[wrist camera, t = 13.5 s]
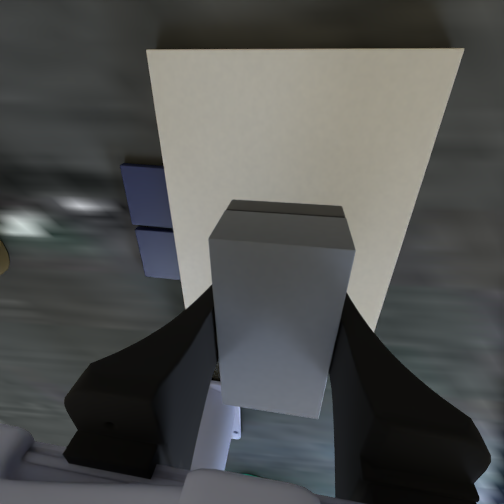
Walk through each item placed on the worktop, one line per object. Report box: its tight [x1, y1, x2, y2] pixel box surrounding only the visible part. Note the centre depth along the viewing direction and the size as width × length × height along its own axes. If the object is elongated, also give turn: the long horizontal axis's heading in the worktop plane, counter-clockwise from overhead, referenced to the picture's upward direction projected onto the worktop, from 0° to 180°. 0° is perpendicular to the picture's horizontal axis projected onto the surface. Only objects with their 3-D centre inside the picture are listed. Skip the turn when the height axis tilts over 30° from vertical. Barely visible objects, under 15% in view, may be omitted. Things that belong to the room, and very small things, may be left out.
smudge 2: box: [120, 163, 173, 228], centre depth 18 cm, size 4×3×1 cm
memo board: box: [146, 48, 464, 332], centre depth 18 cm, size 20×14×1 cm
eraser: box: [208, 199, 356, 419], centre depth 13 cm, size 9×4×4 cm, turn 0°
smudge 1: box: [135, 227, 181, 280], centre depth 21 cm, size 4×3×1 cm
